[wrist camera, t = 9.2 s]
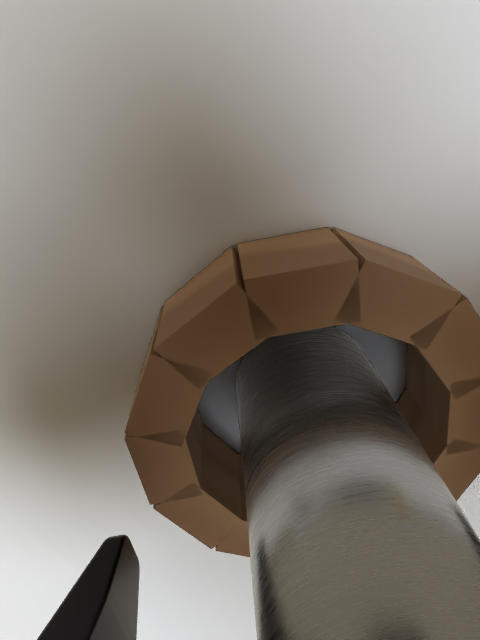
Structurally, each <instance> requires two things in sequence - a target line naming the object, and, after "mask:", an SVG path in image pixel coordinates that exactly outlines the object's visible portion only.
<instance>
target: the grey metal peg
mask: <svg viewBox="0 0 480 640" xmlns="http://www.w3.org/2000/svg"><path fill="white" fill-rule="evenodd" d="M236 394H237V405H238V417H239V429H240V441H241V452H242V464H243V476H244V488H245V500H246V511H247V523H248V535H249V547H250V558H251V570H252V582H253V594H254V605H255V617H256V629H257V640H480V539H479V538H478V536H477V534H476V533H475V531H474V529H473V528H472V526H471V525H470V523H469V521H468V520H467V518H466V517H465V515H464V513H463V512H462V510H461V508H460V507H459V505H458V504H457V502H456V500H455V499H454V497H453V496H452V494H451V492H450V491H449V489H448V487H447V486H446V484H445V483H444V481H443V479H442V478H441V476H440V475H439V473H438V471H437V470H436V468H435V466H434V465H433V463H432V462H431V460H430V458H429V457H428V455H427V454H426V452H425V450H424V449H423V447H422V445H421V444H420V442H419V441H418V439H417V437H416V436H415V434H414V433H413V431H412V429H411V428H410V426H409V424H408V423H407V421H406V420H405V418H404V416H403V415H402V413H401V412H400V410H399V408H398V407H397V405H396V403H395V402H394V400H393V399H392V397H391V395H390V394H389V392H388V391H387V389H386V387H385V386H384V384H383V382H382V381H381V379H380V378H379V376H378V374H377V373H376V371H375V370H374V368H373V366H372V365H371V363H370V361H369V360H368V358H367V357H366V355H365V353H364V352H363V350H362V349H361V347H360V346H359V344H358V343H357V342H356V341H355V340H354V339H353V338H352V337H351V336H349V335H348V334H347V333H345V332H343V331H341V330H340V329H337V328H335V327H332V326H330V327H324V328H319V329H313V330H307V331H302V332H296V333H291V334H285V335H279V336H274V337H268V338H267V339H265V340H264V341H262V342H261V343H260V344H258V345H257V346H256V347H254V348H253V349H252V350H250V351H249V352H248V353H246V355H245V356H244V358H243V360H242V362H241V364H240V366H239V369H238V372H237V377H236Z"/></svg>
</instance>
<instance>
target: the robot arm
mask: <svg viewBox="0 0 480 640" xmlns="http://www.w3.org/2000/svg"><path fill="white" fill-rule="evenodd" d="M138 592H139V560H138V557H137V555H136V553H135V550H134V548H133V546H132V544H131V541H130V539H129V538H128V536H126V535H119V536H113V537H109V538H107V539H106V540H105V541H104V542H103V544H102V545H101V547H100V548H99V550H98V551H97V552H96V554H95V555H94V557H93V558H92V560H91V561H90V563H89V564H88V566H87V567H86V569H85V570H84V572H83V573H82V574H81V576H80V577H79V579H78V580H77V582H76V583H75V585H74V586H73V588H72V589H71V591H70V592H69V593H68V595H67V596H66V598H65V599H64V601H63V602H62V604H61V605H60V607H59V608H58V610H57V611H56V613H55V614H54V615H53V617H52V618H51V620H50V621H49V623H48V624H47V626H46V627H45V629H44V630H43V632H42V633H41V634H40V636H39V637H38V639H37V640H136V634H137V613H138Z"/></svg>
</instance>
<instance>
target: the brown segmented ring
mask: <svg viewBox="0 0 480 640" xmlns="http://www.w3.org/2000/svg"><path fill="white" fill-rule="evenodd" d="M237 246H238V252H239V254H238V253H237V252H236V251H235V250H234V249H233V248H232V246H231V247H230V248H229V249H228V250H226V251H225V252H224V253H223V254H221V255H220V256H219V257H218V258H217V259H215V260H214V261H213V262H212V263H211V264H209V265H208V266H207V267H206V268H205V269H203V270H202V271H201V272H200V273H199V274H197V275H196V276H195V277H194V278H193V279H191V280H190V281H189V282H188V283H187V284H185V285H184V286H183V287H182V288H181V289H179V290H178V291H177V292H176V293H175V294H173V295H172V296H171V297H170V298H168V299H167V300H166V301H165V304H164V306H162V308H161V311H160V314H159V317H158V321H157V324H156V327H155V330H154V333H153V336H152V339H151V343H150V346H149V349H148V352H147V355H146V358H145V362H144V365H143V368H142V371H141V374H140V378H139V382H138V385H137V389H136V393H135V397H134V400H133V404H132V408H131V411H130V415H129V419H128V423H127V426H126V430H125V434H126V436H125V441H126V444H127V446H128V449H129V451H130V454H131V457H132V459H133V462H134V464H135V467H136V469H137V472H138V475H139V477H140V480H141V482H142V485H143V487H144V490H145V493H146V495H147V498H148V500H149V503H150V505H151V504H154V507H153V509H155V510H156V511H158V512H159V513H161V514H162V515H163V516H165V517H166V518H168V519H169V520H171V521H172V522H173V523H175V524H176V525H178V526H179V527H181V528H182V529H183V530H185V531H186V532H188V533H189V534H190V535H192V536H193V537H195V538H196V539H198V540H199V541H200V542H202V543H203V544H205V545H206V546H208V547H209V548H210V549H212V548H213V547H215V546H216V551H220V552H225V553H231V554H236V555H241V556H247V557H250V547H249V535H248V523H247V511H246V500H245V488H244V476H243V464H242V455H240V454H237V453H236V452H235V451H234V450H232V449H231V448H230V447H229V446H228V445H227V444H225V443H224V442H223V441H222V440H221V439H220V438H219V437H217V436H216V435H215V434H214V433H213V432H212V431H210V430H209V429H208V428H207V427H206V426H205V425H203V424H202V421H201V417H200V413H199V410H198V405H199V403H200V400H201V398H202V395H203V393H204V390H205V388H206V385H207V383H208V381H210V380H211V379H212V378H214V377H215V376H217V375H218V374H219V373H221V372H222V371H223V370H225V369H226V368H227V367H229V366H230V365H231V364H233V363H234V362H235V361H237V360H238V359H239V358H241V357H242V356H244V355H245V354H246V353H248V352H249V351H250V350H252V349H253V348H254V347H256V346H257V345H258V344H260V343H261V342H262V341H264V340H265V339H267V338H268V337H274V336H279V335H285V334H291V333H296V332H302V331H307V330H313V329H319V328H324V327H330V326H336V325H341V324H347V323H348V324H351V325H354V326H357V327H360V328H363V329H366V330H369V331H373V332H376V333H379V334H382V335H385V336H388V337H391V338H394V339H397V340H401V341H404V342H407V388H406V390H405V391H404V393H403V395H402V396H401V398H400V399H399V401H398V402H397V404H396V405H397V407H398V408H399V410H400V412H401V413H402V415H403V416H404V418H405V420H406V421H407V423H408V424H409V426H410V428H411V429H412V431H413V433H414V434H415V436H416V437H417V439H418V441H419V442H420V444H421V445H422V447H423V449H424V450H425V452H426V454H427V455H428V457H429V458H430V460H431V462H432V463H433V465H434V466H435V468H436V470H437V471H438V473H439V475H440V476H441V478H442V479H443V481H444V483H445V484H446V486H447V487H448V489H449V491H450V492H451V494H452V496H453V497H454V499H455V500H456V501H457V500H458V499H459V497H460V496H461V495H462V494H463V492H464V491H465V490H466V489H467V488H468V486H469V485H470V484H471V483H472V482H473V480H474V479H475V478H476V477H477V475H478V474H479V473H480V318H479V316H478V314H477V313H476V311H475V310H474V308H473V307H472V305H471V303H470V302H469V300H468V299H467V298H466V297H465V296H464V295H462V294H461V293H460V292H459V291H457V290H456V289H455V288H453V287H452V286H451V285H449V284H448V283H447V282H445V281H444V280H443V279H441V278H440V277H439V276H437V275H436V274H435V273H433V272H432V271H431V270H429V269H428V268H427V267H425V266H424V265H423V264H421V263H420V262H419V261H417V260H416V259H415V258H413V257H412V256H409V255H406V254H404V253H401V252H398V251H396V250H393V249H390V248H388V247H385V246H382V245H379V244H377V243H374V242H371V241H369V240H366V239H363V238H361V237H358V236H355V235H352V234H350V233H347V232H344V231H342V230H339V229H336V228H333V230H332V231H331V230H330V229H329V228H328V227H325V228H320V229H314V230H309V231H303V232H298V233H292V234H287V235H282V236H276V237H271V238H265V239H260V240H254V241H249V242H243V243H238V244H237Z"/></svg>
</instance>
